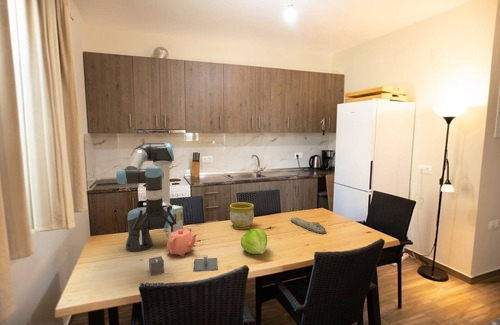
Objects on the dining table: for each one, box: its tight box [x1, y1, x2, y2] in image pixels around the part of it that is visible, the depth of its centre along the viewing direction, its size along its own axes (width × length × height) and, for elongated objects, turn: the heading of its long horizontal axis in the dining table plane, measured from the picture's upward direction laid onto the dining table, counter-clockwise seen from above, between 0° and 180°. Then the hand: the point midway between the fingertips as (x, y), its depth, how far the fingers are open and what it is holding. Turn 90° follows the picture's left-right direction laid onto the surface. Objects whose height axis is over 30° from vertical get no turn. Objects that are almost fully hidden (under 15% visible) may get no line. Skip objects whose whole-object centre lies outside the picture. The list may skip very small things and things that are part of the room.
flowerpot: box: [229, 201, 255, 231], centre depth 199 cm, size 18×18×16 cm
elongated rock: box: [290, 217, 326, 235], centre depth 200 cm, size 35×5×10 cm
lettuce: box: [240, 228, 268, 255], centre depth 154 cm, size 15×20×14 cm
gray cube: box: [148, 255, 165, 276], centre depth 133 cm, size 6×6×6 cm
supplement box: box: [164, 204, 184, 233], centre depth 192 cm, size 10×9×17 cm
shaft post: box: [193, 254, 219, 272], centre depth 140 cm, size 12×12×5 cm
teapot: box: [165, 228, 199, 258], centre depth 154 cm, size 16×17×14 cm
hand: (155, 241), depth 132 cm, fingers open, 13 cm apart
